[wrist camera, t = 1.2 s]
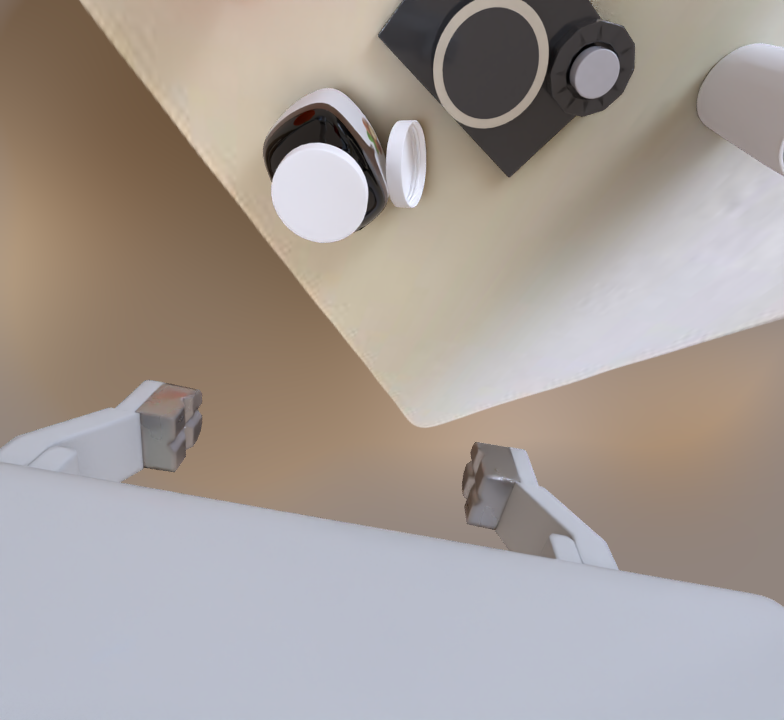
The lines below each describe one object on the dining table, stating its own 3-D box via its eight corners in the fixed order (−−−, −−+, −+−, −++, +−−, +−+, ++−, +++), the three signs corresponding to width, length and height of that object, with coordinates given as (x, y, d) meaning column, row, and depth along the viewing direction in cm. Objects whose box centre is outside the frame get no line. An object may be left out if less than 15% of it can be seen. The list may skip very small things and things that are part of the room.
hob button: (560, 72, 35) (566, 76, 34) (598, 34, 34) (605, 37, 32) (584, 103, 37) (589, 108, 36) (621, 69, 35) (628, 73, 34)
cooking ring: (409, 71, 35) (409, 71, 35) (498, -40, 31) (498, -40, 31) (483, 150, 39) (483, 151, 39) (571, 61, 35) (572, 62, 34)
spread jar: (267, 118, 40) (229, 165, 31) (377, 36, 36) (369, 64, 27) (346, 229, 47) (333, 293, 38) (446, 171, 42) (457, 228, 34)
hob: (377, 34, 36) (376, 39, 34) (506, -143, 29) (513, -150, 27) (511, 179, 43) (516, 189, 41) (637, 62, 37) (650, 68, 35)
